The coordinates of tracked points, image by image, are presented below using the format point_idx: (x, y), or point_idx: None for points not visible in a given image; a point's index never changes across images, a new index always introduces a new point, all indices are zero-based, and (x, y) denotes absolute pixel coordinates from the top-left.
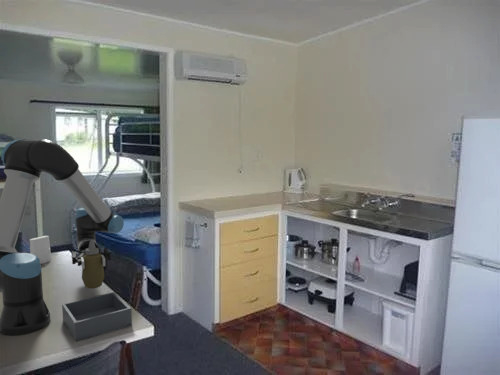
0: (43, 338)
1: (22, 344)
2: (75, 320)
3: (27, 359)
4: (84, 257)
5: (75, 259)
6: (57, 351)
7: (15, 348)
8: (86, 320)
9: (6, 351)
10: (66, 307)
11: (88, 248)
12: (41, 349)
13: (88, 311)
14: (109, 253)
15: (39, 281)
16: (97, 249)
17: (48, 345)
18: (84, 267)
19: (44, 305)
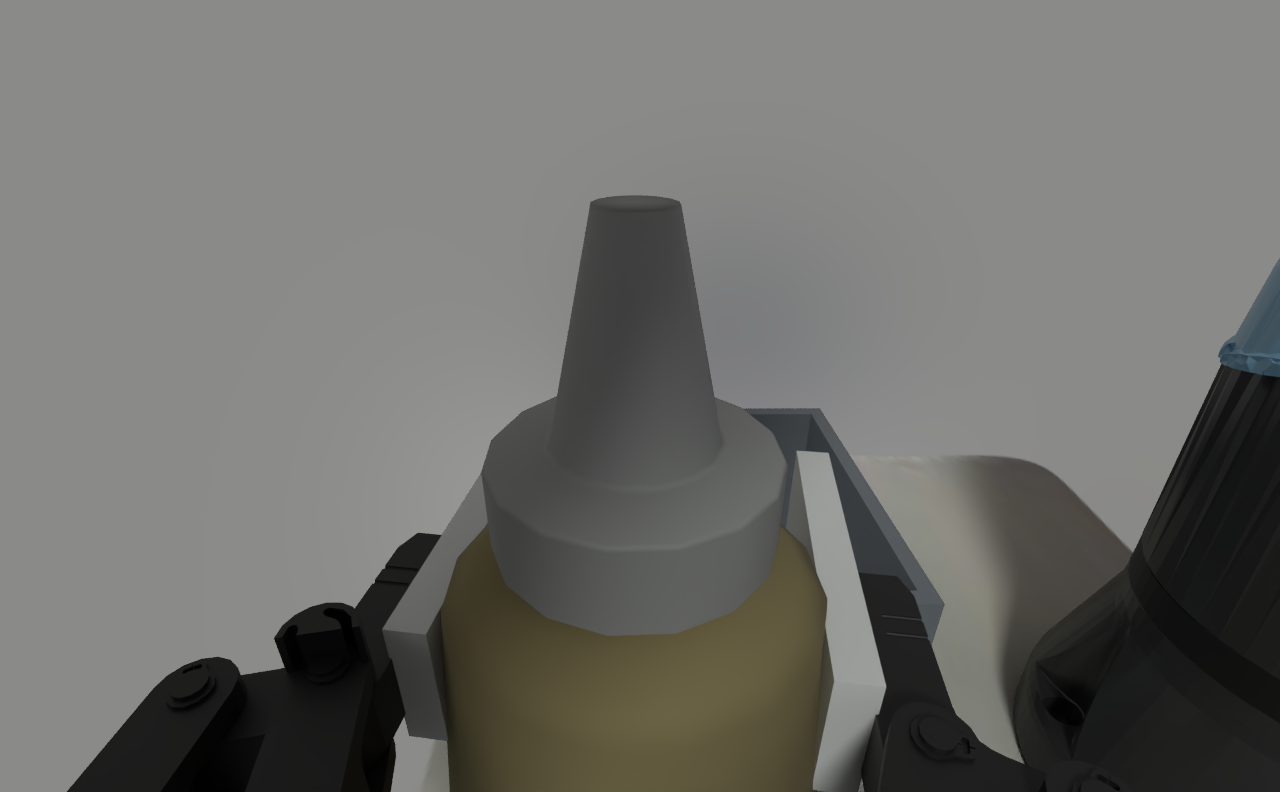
0: (970, 560)
1: (1061, 556)
2: (817, 420)
3: (974, 463)
4: (796, 539)
5: (1015, 768)
6: (871, 461)
7: (1077, 540)
8: (768, 411)
9: (1109, 536)
10: (892, 541)
11: (717, 426)
12: (943, 492)
13: None
14: (204, 663)
15: (1194, 431)
16: (544, 403)
17: (921, 504)
18: (786, 524)
19: (1093, 636)
